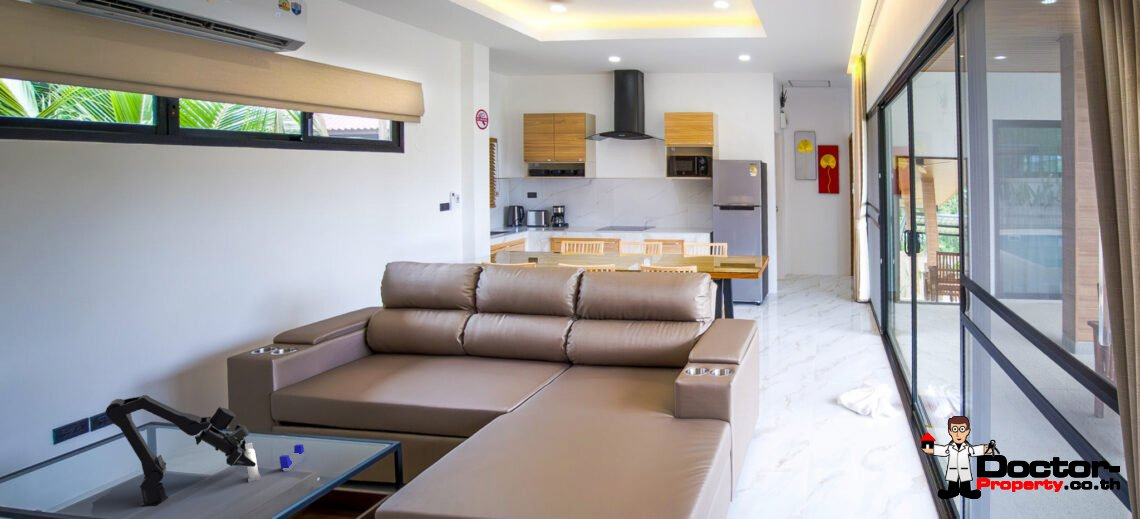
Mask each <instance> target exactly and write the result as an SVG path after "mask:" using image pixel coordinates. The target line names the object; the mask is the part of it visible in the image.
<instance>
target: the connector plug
mask: <svg viewBox="0 0 1140 519" xmlns="http://www.w3.org/2000/svg"><path fill="white" fill-rule="evenodd" d="M245 448H246V451H245V455H246V456H247V457H248V458H250V459H251V460H252V461H253V462H254V463H255V464H256V465H255V466H254V467H251V466H246V468H247V472H248V476H247V477H248V479H247V481H248V483H251V482H250V481H253V480H258V481H260V480H261V473H260V472H259V468H258V461H257V455H256V451H255V449H254V447H253V442H248V443H246V444H245ZM259 479H260V480H259Z"/></svg>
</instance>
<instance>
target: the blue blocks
mask: <svg viewBox="0 0 1140 519" xmlns="http://www.w3.org/2000/svg"><path fill="white" fill-rule="evenodd" d="M293 449H294V451H293V452H294V453H299V454H302V453H303V452H304V453H305V448H304V444H295V445H294V446H293ZM289 457H290V455H289V454H287V455H284V454H283V455H280V456H279V463H280V469H283V468H289V466H290V465H291V464H292V461H291V460H290V458H289Z"/></svg>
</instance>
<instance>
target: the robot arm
mask: <svg viewBox="0 0 1140 519" xmlns="http://www.w3.org/2000/svg"><path fill="white" fill-rule="evenodd" d="M139 410H144V411H147V412H149V413H151V414H153V415H155V416H157V417H160V418H161V419H163V420H166V421H167V422H170V423H172V424H174V425H175V426H176V427H177V428H178V429H179V430H181V431H182V432H183V433H185V434H187V435H188V436H191V437H194V436H195V437H194V438H195V439H194V440H195V443H196V446H198V445H200V443H201V442H202V441H203V443H206V444H208V445H209V446H211V447H213V448H214V450H215V451H217V452H218V451H220V452H221V453H223V454H224V456H225V457H226V459H225V461H226V465H228V466H230V467H232V466H234V467H235V466H238V467H247V466H251V467H254V466H255V465H256V464H255V463H254V462H253V461H252V460H251V459H250V458H248V457H247V456H246V455H245V451H246V448H245V444H247V440H246V437H247V436H249V433H250V431H249V430H248V428H247V427H246V425H244V424H240V423H237V424H236V425H235V426H234V430H233V431H232V432H227V431H226V432H223V430H227V429H228V427H229V426H230V425H231V423H232V422H233V420H235V418H236V417H237V415H236V414H235V413H234V412H233V411H232V410H231V409H228V408H225V407H222V406H218V407H217V408H216V411H215V412H214V413H213V414H212V415H211V416H203V417H201V416H199V415H196V414H192V413H187V412H182V411H179V410H177V409H175V408H173V407H170V406H169V405H166V404H165V403H162V402H161V401H159V400H156V399H155V398H152V397H150V396H149V395H147V394H143V395H141V396H136V397H135V396H134V397H129V398H126V399H125V398H124V399H122V398H117V399H114V400H112V401H111V402H110V403H109V405H108V406H107V408H106V409H105V415H106V417H107V418H108V419H109V421H111V423H112V424H114V425H115V426H116V427H118V428H119V429H120V430H121V432H122V434H123V435H124V437H125V439H126V440H127V441H128V443H129V445H130V447H131V448H132V450H133V452H134V453H135V455H136V456H137V457H138V460H139V461H140V463H141V467H142V468H141V469H142V472H143V475H144V476H143V478H142V481H141V483H140V485H139V488H140V490H141V496H142V500H143V502H141V504H140V506H141V507H147V506H150V505H151V506H158V505H160V504H162V503H163V502H164V501H166V499H168V498H169V495H166V489H165V487H164V484H163V482H161V481H162V480H163V478H164V476H165V473H166V470H167V462H166V461H164V459H163V456H162V455H161V454H159V455H158V456H156V455H155V454H154V453H153V452H152V450H151V448H150V447H149V446H148V444H147V442H146V440H145V439H144V437H143V436H142V434H141V432H140V431H139V429H138V427H137V426H136V424H135V422H134V421H133V417H132V413H135V412H137V411H139ZM143 505H144V506H143Z"/></svg>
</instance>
